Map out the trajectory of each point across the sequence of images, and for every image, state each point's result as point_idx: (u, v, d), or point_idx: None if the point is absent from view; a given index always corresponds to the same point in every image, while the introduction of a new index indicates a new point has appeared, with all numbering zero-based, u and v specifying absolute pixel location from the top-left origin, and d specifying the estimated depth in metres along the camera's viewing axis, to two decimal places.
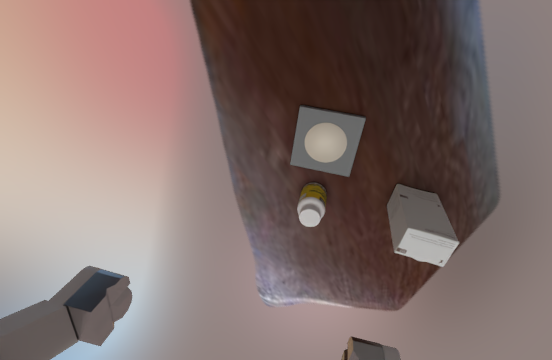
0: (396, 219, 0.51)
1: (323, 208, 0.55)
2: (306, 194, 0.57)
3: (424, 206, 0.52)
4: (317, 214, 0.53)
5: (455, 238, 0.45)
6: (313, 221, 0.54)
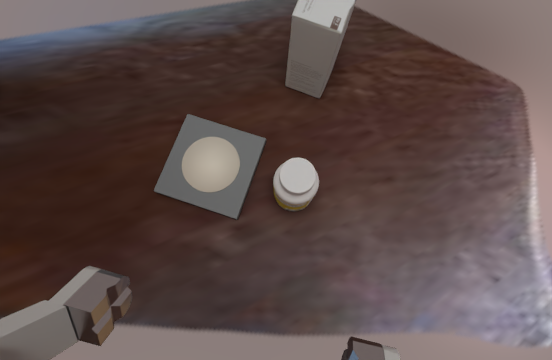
0: (307, 55, 0.35)
1: None
2: (274, 190, 0.35)
3: None
4: (290, 161, 0.32)
5: None
6: (304, 169, 0.31)
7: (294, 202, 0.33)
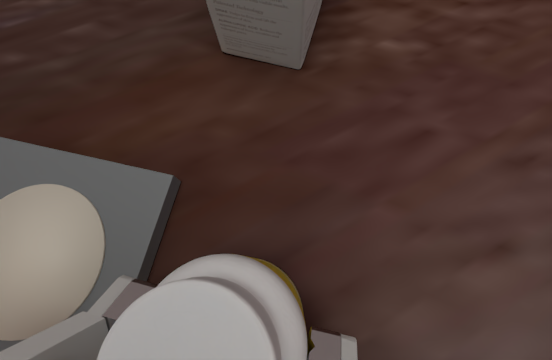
0: None
1: (201, 261, 0.09)
2: None
3: None
4: (148, 302, 0.06)
5: None
6: (217, 343, 0.06)
7: None
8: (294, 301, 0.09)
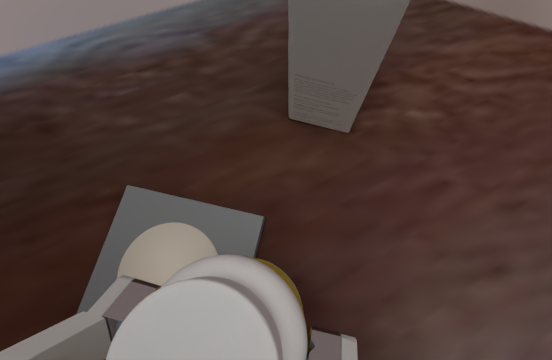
0: (326, 62, 0.18)
1: (205, 261, 0.09)
2: None
3: None
4: (157, 300, 0.07)
5: None
6: (222, 339, 0.06)
7: None
8: (295, 300, 0.09)
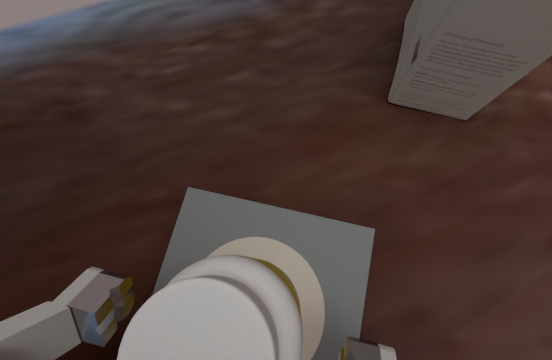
0: (519, 7, 0.12)
1: (208, 261, 0.10)
2: None
3: None
4: (165, 296, 0.07)
5: None
6: (224, 332, 0.07)
7: None
8: (291, 298, 0.10)
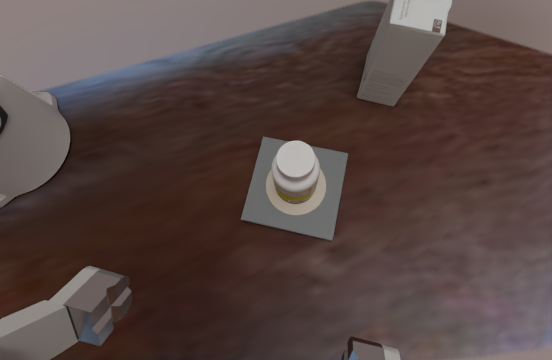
0: (394, 63, 0.34)
1: None
2: None
3: (373, 46, 0.38)
4: (286, 144, 0.30)
5: None
6: (302, 152, 0.29)
7: (295, 189, 0.31)
8: None
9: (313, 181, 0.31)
